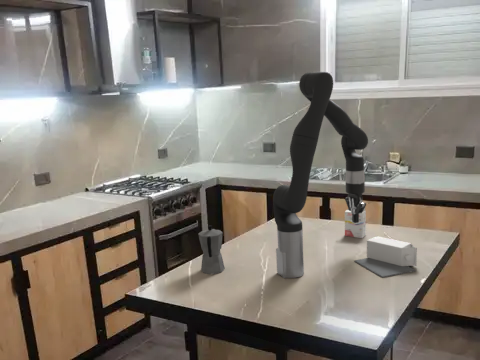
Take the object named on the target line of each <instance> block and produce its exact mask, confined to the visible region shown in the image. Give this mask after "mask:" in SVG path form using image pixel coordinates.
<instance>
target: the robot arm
mask: <svg viewBox="0 0 480 360" xmlns="http://www.w3.org/2000/svg"><path fill="white" fill-rule="evenodd" d="M298 84H299V90H300V92H301V94H302V95H303V96H304V97H305V98H306V99H307V100H308V101H309V102H310V104H309V107H308V110H307V111H306V112H305V114H304V115H303V117H302V118H301V120H300V121H299V122H298V123H297V125H296V126H295V127H294V130H293V132H292V137H291V141H290V145H289V154H290V155H289V156H290V161H291V167H292V175H291V180H290V183H289V185H288V184H282V185H279V186H277V187H276V189H275V190H274V192H273V196H272V206H273V217H274V222H275V224H276V231H277V232H276V233H277V234H276V235H277V248H275V253H276V257H275V258H276V273H277V274H278V275H279V276H281V278H282V279H294V278H300V277H302V276H304V274H305V264H304V263H305V261H304V238H303V237H304V236H303V235H304V234H303V231H304V230H303V221H302V220H301V218H299V217H298V215H297V214H298V213H300V212H302V210H303V209H304V208H305V205H306V202H307V196H308V191H309V190H308V189H309V183H310V175H311V172H312V165H313V163H314V162H313V161H314V157H315V153H316V150H317V145H318V141H319V138H320V137H319V136H320V132H321V128H322V124H323V120H324V117H325V118H326V119H327V120H328V121H329V123H330V124H331V125H332V127H333V128H334V130H335V131H336V132H337V134H339V136H341V140H340V145H341V149H342V152H343V155H344V159H345V176H344V177H345V193H346V194H347V197H345V198H344V200H345V204H346V206H347V210H348V209H349V211H351V213H352V222H354V223H358V222H359V214H360V213H362V212H363V210H364V208H365V209H366V207H367V202H364V201H363V200H364V199H363V198H364V197H363V194H364V193H365V192H366V187H365V186H366V183H365V180H366V178H365V177H366V176H365V159H364V156H362V155H361V154H358V153H357V152H356V151H358V150H359V151H361V150H364V149H366V148H367V146H368V144H369V138H368V136H367V133H366V132H365V131H364V130H363V129H362V128H361V127H359V126H358V125H357V124H356V123H354V122H353V120H352V119H351V117H350V116H349V114H348V113H347V111H345V110H344V109H343V108H342V107H341V106H340V105H339V104H337V103H335V102H334V101H333V100H331V96H332V92H333V89H334V78H333V75H332V74H331V73H330V72H328V71H311V72H305V73H303V75H302V76H300V78H299V83H298Z"/></svg>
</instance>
